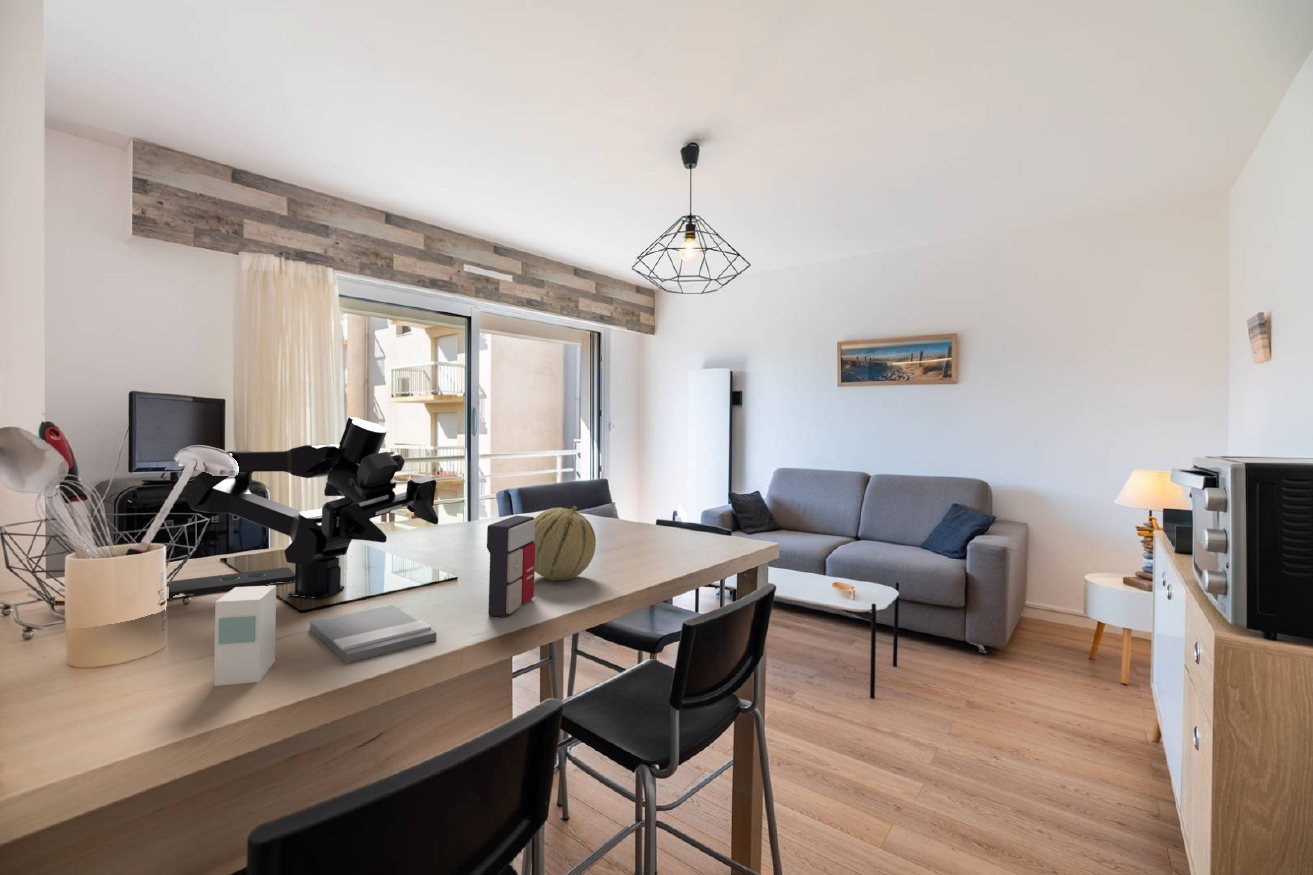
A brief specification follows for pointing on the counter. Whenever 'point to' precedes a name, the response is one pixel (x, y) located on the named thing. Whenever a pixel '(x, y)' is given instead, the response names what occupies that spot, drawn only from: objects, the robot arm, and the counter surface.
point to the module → (244, 634)
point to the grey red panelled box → (511, 564)
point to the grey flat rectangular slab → (371, 633)
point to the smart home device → (230, 581)
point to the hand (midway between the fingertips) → (412, 530)
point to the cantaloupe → (562, 543)
